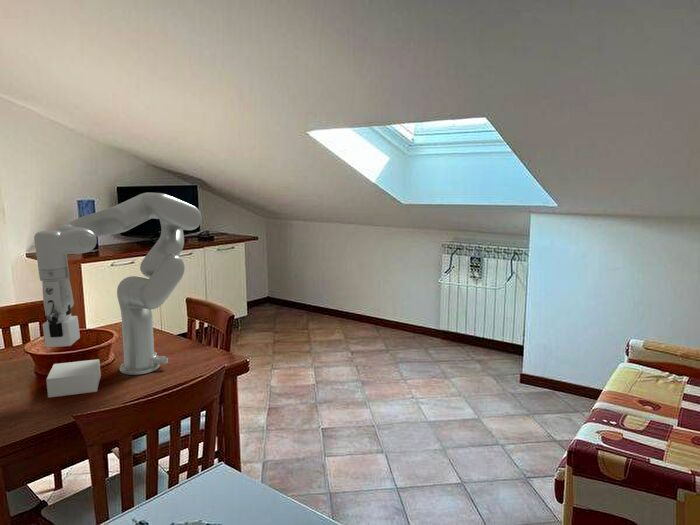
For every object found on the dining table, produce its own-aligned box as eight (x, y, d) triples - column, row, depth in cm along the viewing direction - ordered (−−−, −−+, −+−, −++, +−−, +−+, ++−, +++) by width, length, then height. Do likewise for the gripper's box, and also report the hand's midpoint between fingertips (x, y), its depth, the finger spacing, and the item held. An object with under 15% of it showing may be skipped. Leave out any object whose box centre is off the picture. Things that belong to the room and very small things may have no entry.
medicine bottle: (55, 339, 156) (50, 300, 154) (80, 337, 157) (75, 299, 155) (44, 347, 149) (39, 307, 147) (70, 346, 150) (65, 306, 148)
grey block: (100, 376, 169) (99, 359, 168) (97, 392, 157) (95, 373, 156) (55, 381, 164) (53, 364, 163) (48, 398, 152) (46, 379, 151)
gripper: (57, 280, 141) (65, 341, 145) (78, 266, 158) (85, 322, 162) (27, 281, 140) (35, 343, 144) (51, 267, 157) (59, 323, 160)
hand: (61, 331), depth 152 cm, fingers closed on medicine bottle, 7 cm apart
